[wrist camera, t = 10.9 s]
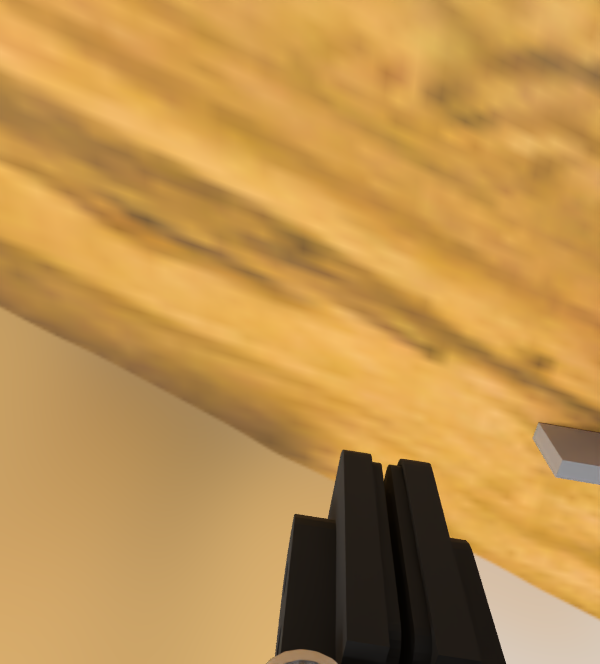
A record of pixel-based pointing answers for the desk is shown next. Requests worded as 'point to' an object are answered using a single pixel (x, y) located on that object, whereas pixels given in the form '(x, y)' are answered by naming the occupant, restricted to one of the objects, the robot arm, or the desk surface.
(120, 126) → the desk surface
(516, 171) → the desk surface
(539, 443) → the cradle
